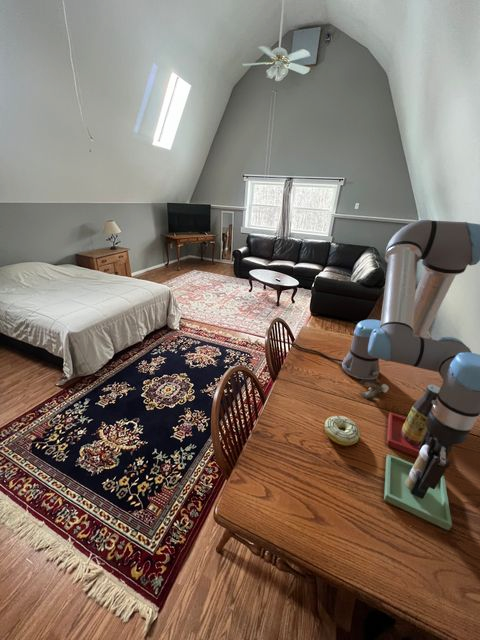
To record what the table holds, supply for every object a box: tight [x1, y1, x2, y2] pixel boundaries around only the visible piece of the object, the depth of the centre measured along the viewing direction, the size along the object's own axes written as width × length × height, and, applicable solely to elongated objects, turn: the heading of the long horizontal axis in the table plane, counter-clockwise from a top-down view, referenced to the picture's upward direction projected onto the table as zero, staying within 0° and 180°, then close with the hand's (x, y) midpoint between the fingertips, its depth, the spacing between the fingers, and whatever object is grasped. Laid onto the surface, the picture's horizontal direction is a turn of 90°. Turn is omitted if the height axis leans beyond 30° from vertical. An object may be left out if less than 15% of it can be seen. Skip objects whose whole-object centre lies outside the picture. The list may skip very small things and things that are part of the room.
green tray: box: [383, 453, 453, 531], centre depth 70 cm, size 14×14×2 cm
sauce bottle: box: [401, 384, 441, 444], centre depth 81 cm, size 6×6×20 cm
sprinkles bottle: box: [405, 445, 432, 491], centre depth 67 cm, size 5×5×14 cm
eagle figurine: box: [359, 377, 390, 400], centre depth 103 cm, size 8×7×9 cm
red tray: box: [386, 412, 420, 458], centre depth 85 cm, size 14×14×2 cm
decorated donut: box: [323, 415, 361, 447], centre depth 85 cm, size 10×11×4 cm
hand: (416, 486), depth 69 cm, fingers closed on sprinkles bottle, 4 cm apart
